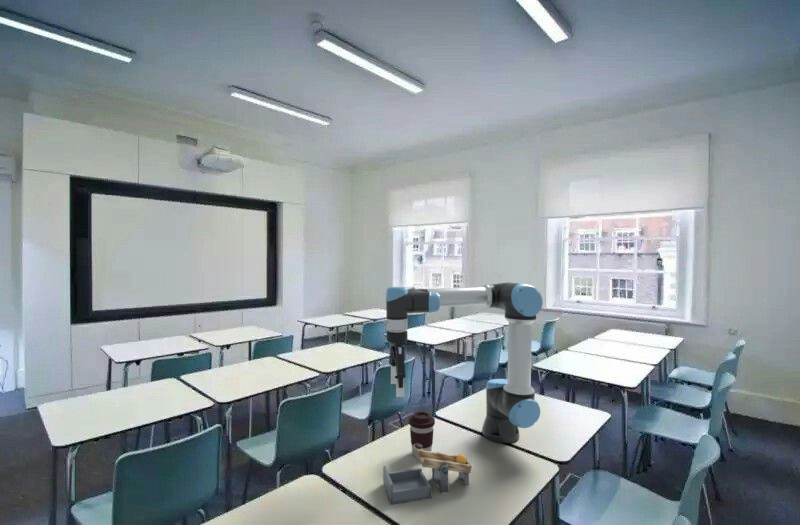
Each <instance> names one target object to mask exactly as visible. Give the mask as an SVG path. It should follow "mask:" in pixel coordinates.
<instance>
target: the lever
mask: <svg viewBox="0 0 800 525" xmlns="http://www.w3.org/2000/svg"><path fill="white" fill-rule="evenodd" d="M413 447H414V449H415V450H416V452H417V454H418V456H417V457H418V458H417V460H418V461H419V464H421V467H422V468H427V469H432V468H435V469H440V465H448V472H451V471H452V472H457V473H459V472H463V473H469V474H471V472H472V469H473V468H472V467H473V466H472V464H471V462H469V461H468V460H467V462H466V464H462V463H457V462H456V457H457V455H458V454H457V455H455V454H451V453H450V454H449V453H444V452H443V453H442V452H439V453H437V452H438V451H424V450H423V449H422V447H423V446H422V445H421V444H419V443H415V444H414V446H413Z"/></svg>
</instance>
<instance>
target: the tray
mask: <svg viewBox="0 0 800 525" xmlns="http://www.w3.org/2000/svg"><path fill="white" fill-rule="evenodd" d="M382 469H383V470H382V472H383V476H382V477H383V479H382V480H383V483H382V484H383V487H384V490H385V493H386V496H387V498H388V501H389V504H390V505H396V504H400V503H401V504H403V503H409V502H414V501H421V500H426V499H432V485H431V484H429V482H428V480H427V478H426V476H425V474H424V472H423V469H422V468H421V467H419V468H413V469H412V468H411V469H405V470H398V471H397V470H396V471H390V472H389V471H388V468H387V465H383V467H382Z"/></svg>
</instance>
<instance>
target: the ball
mask: <svg viewBox="0 0 800 525" xmlns="http://www.w3.org/2000/svg"><path fill="white" fill-rule="evenodd" d="M467 461H468V459H467V457H466V455H465V454H463V453H460V454H457V457H456V462H457V463H462V464H466V462H467Z"/></svg>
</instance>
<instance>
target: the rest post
mask: <svg viewBox="0 0 800 525" xmlns="http://www.w3.org/2000/svg"><path fill="white" fill-rule="evenodd" d="M458 479H459V480H460V481H461V483H462V484H463V486H469V485H470V473H463V472H458Z"/></svg>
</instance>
